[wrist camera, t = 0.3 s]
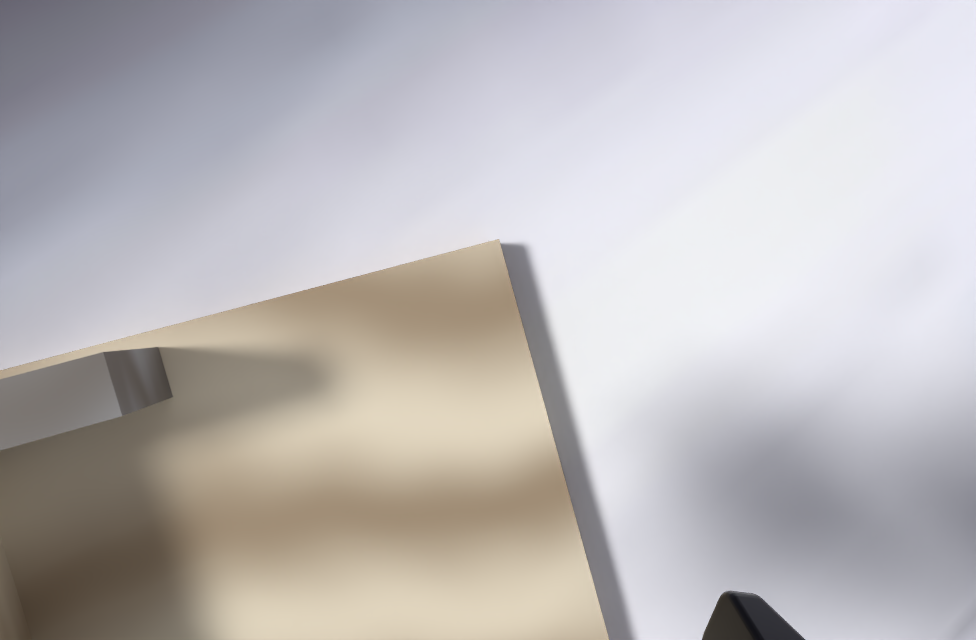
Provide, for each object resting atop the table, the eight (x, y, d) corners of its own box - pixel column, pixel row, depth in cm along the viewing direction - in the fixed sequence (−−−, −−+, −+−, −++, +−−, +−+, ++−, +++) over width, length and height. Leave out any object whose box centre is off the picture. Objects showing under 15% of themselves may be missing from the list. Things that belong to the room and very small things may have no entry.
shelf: (604, 647, 24) (678, 741, 18) (69, 853, 21) (-32, 1039, 15) (492, 243, 23) (534, 216, 18) (-73, 392, 20) (-232, 416, 15)
